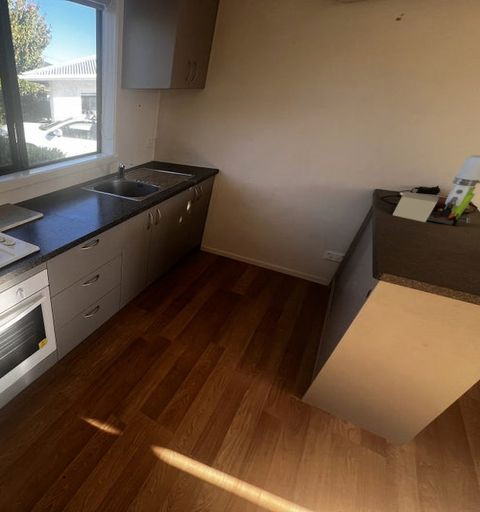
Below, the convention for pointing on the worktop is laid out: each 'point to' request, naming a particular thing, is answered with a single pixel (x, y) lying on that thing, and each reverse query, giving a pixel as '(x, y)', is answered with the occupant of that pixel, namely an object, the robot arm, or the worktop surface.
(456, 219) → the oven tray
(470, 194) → the soap dispenser
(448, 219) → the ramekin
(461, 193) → the robot arm
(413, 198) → the cream box
